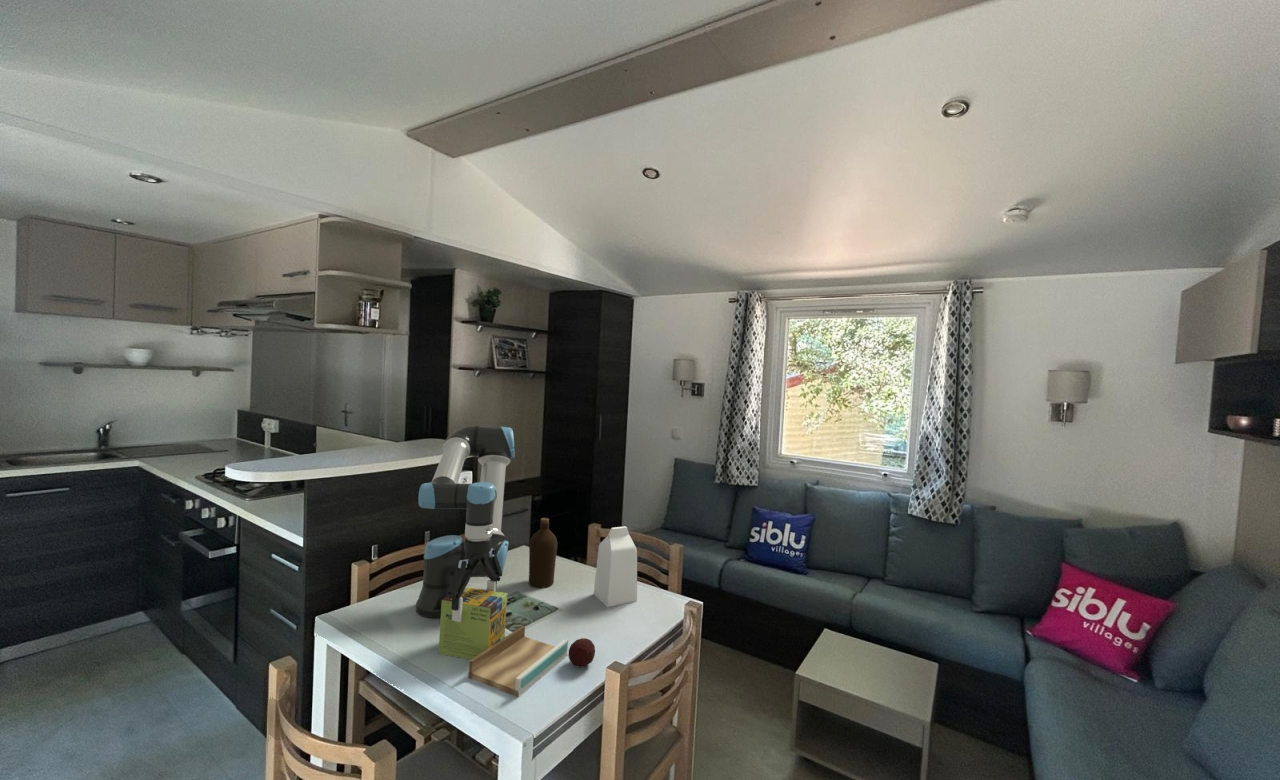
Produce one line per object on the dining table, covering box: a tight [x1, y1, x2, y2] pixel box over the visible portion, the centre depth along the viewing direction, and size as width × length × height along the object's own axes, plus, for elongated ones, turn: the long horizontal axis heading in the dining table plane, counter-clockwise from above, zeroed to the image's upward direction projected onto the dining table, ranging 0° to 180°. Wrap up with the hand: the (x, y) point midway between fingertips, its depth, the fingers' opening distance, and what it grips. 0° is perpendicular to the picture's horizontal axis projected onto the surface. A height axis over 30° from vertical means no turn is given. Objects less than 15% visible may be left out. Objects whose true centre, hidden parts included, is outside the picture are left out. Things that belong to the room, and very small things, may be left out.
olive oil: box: [528, 517, 558, 589], centre depth 194 cm, size 11×11×25 cm
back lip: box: [468, 625, 526, 680], centre depth 141 cm, size 1×22×4 cm, turn 156°
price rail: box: [515, 638, 569, 698], centre depth 135 cm, size 1×22×4 cm, turn 155°
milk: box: [593, 526, 638, 608], centre depth 186 cm, size 12×12×26 cm
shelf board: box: [467, 636, 556, 698], centre depth 138 cm, size 16×22×2 cm
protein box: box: [437, 586, 508, 661], centre depth 145 cm, size 10×15×16 cm
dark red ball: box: [567, 637, 596, 668], centre depth 141 cm, size 7×8×7 cm
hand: (474, 611), depth 145 cm, fingers open, 13 cm apart
